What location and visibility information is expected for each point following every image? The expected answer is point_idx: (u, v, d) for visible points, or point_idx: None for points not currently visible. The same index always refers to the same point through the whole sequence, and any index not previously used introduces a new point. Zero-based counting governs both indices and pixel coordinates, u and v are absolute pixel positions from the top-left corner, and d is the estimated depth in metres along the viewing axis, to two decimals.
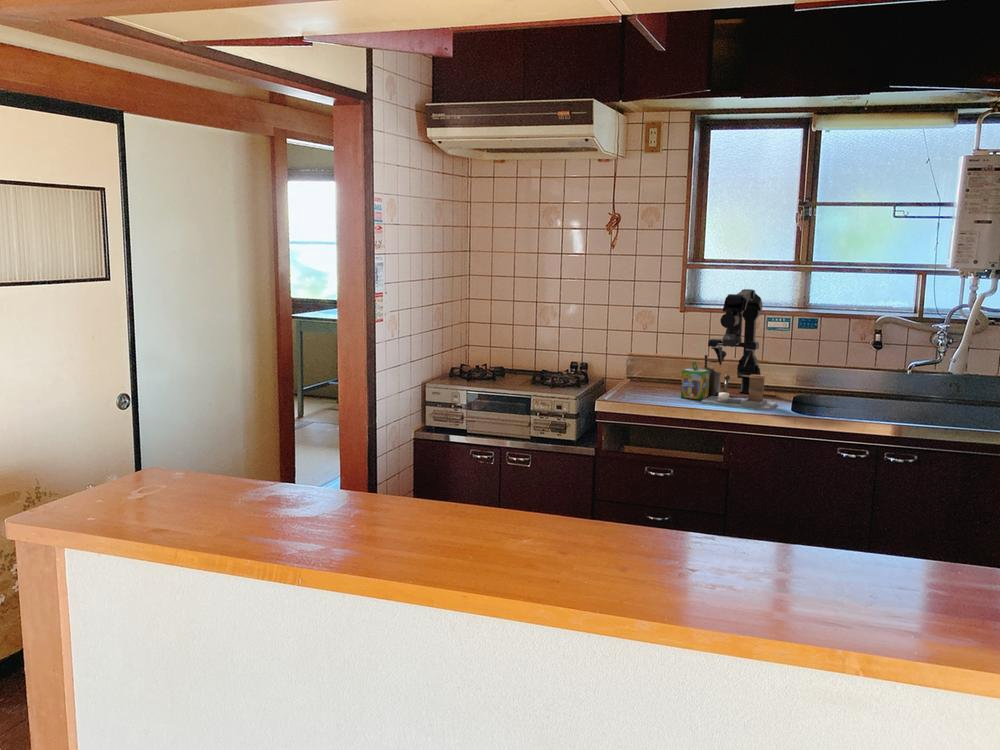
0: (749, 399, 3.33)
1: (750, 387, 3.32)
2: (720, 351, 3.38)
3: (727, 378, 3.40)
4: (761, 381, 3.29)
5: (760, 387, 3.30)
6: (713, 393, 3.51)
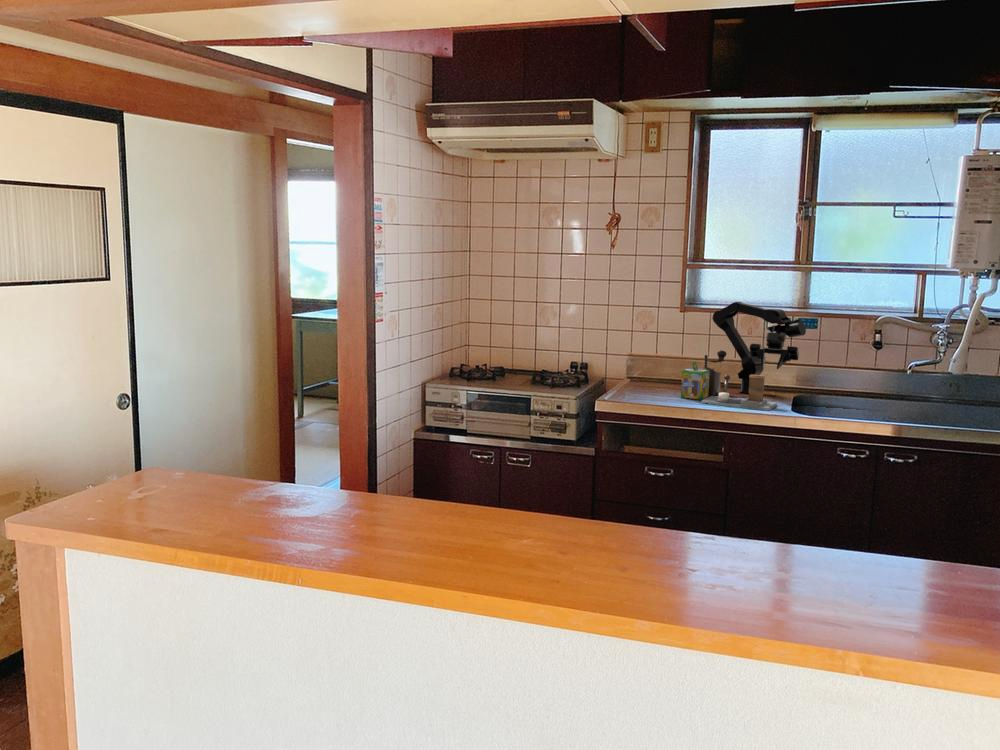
0: (749, 399, 3.33)
1: (750, 387, 3.32)
2: (764, 356, 3.45)
3: (727, 378, 3.40)
4: (761, 381, 3.29)
5: (760, 387, 3.30)
6: (713, 393, 3.51)
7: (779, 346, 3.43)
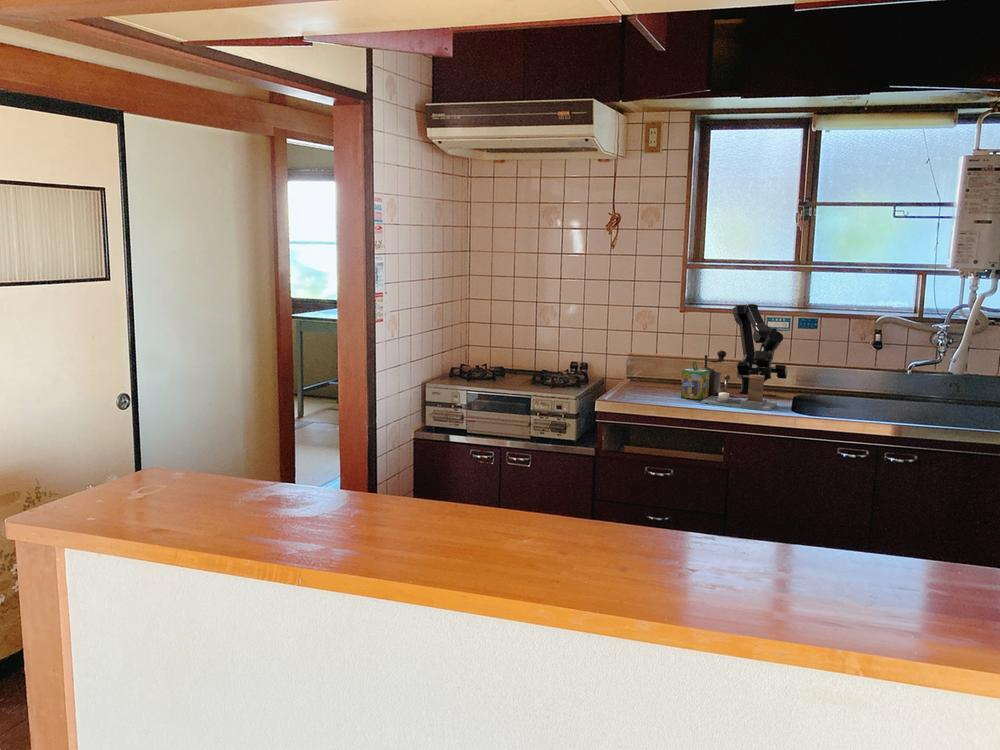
0: (749, 399, 3.32)
1: (750, 387, 3.31)
2: None
3: (727, 378, 3.40)
4: (761, 381, 3.29)
5: (760, 387, 3.29)
6: (713, 393, 3.51)
7: (767, 364, 3.35)
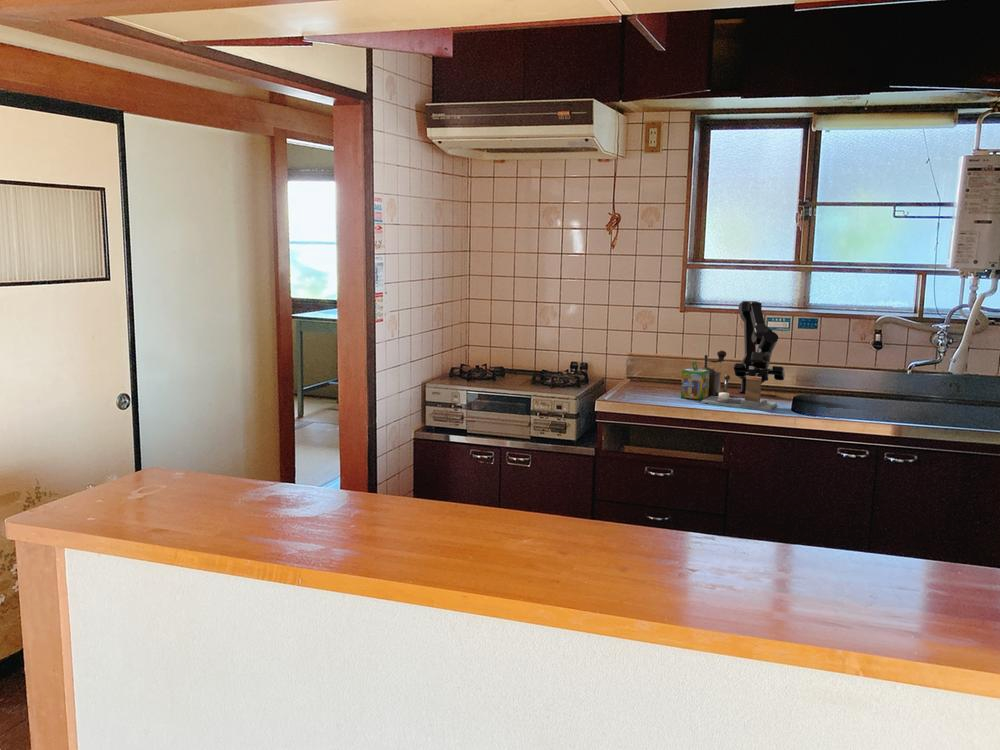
0: None
1: (747, 389, 3.27)
2: None
3: (727, 378, 3.40)
4: (758, 383, 3.25)
5: (757, 389, 3.25)
6: (713, 393, 3.51)
7: (764, 366, 3.31)
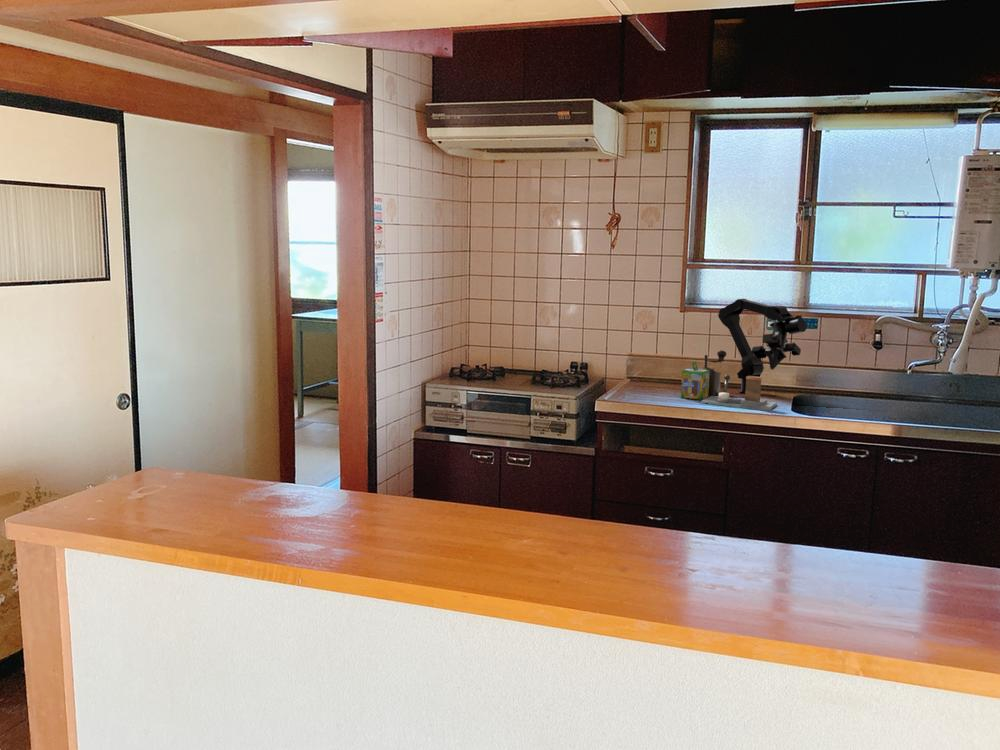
0: None
1: (747, 389, 3.27)
2: None
3: (727, 378, 3.40)
4: (758, 383, 3.25)
5: (757, 389, 3.25)
6: (713, 393, 3.51)
7: (778, 345, 3.41)
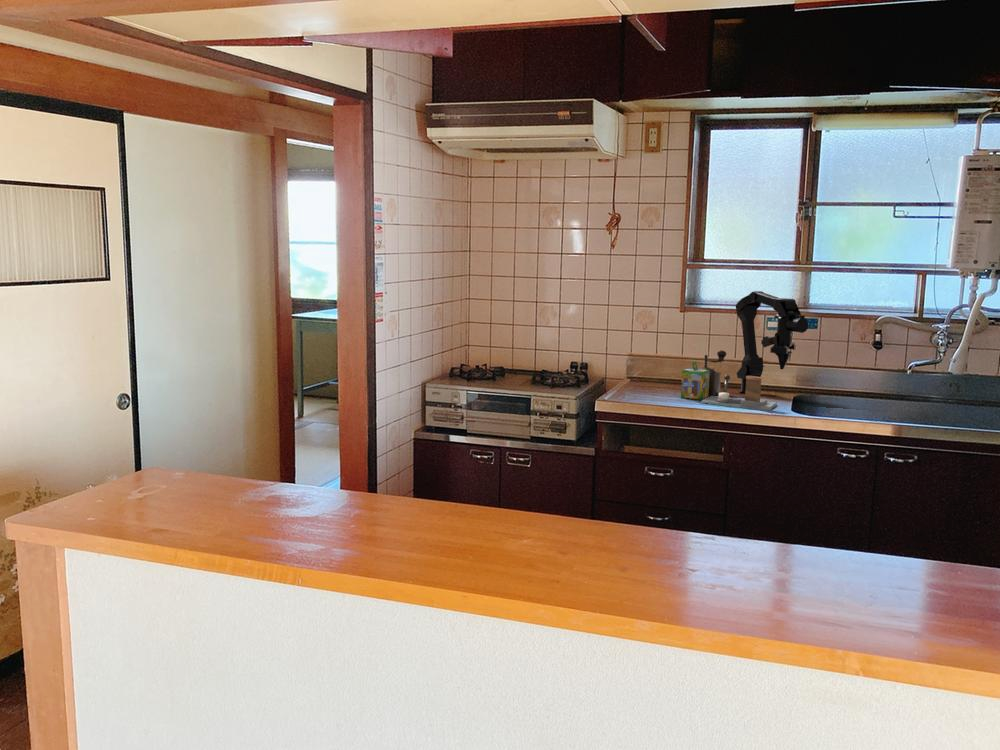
0: None
1: (747, 389, 3.27)
2: None
3: (727, 378, 3.40)
4: (758, 383, 3.25)
5: (757, 389, 3.25)
6: (713, 393, 3.51)
7: (776, 345, 3.39)
